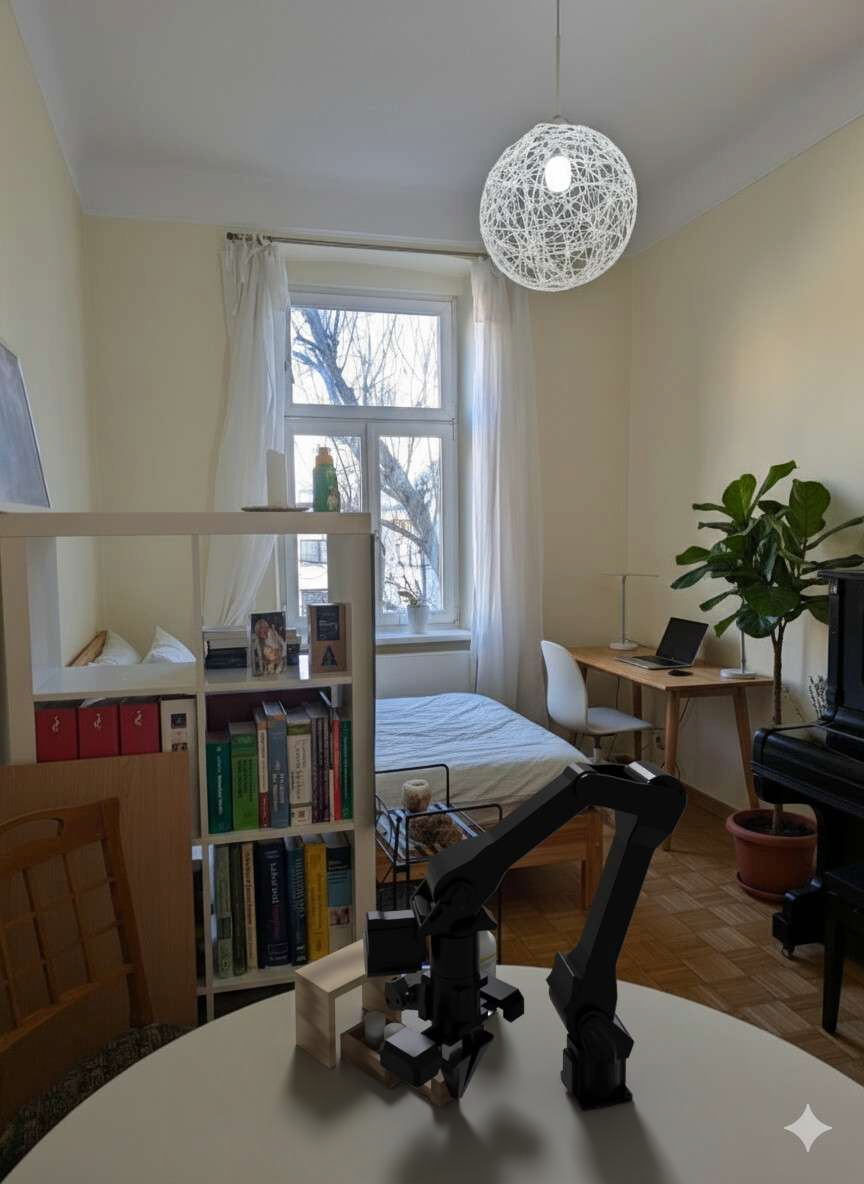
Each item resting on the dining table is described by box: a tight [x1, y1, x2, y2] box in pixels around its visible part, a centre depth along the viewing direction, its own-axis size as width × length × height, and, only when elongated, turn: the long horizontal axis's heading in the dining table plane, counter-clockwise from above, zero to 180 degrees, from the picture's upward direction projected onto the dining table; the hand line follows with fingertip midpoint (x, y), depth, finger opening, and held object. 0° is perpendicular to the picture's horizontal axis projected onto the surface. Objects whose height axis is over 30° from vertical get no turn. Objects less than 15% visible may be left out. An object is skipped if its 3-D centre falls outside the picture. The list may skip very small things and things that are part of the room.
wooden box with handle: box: [339, 1010, 454, 1109], centre depth 98 cm, size 16×7×5 cm, turn 46°
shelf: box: [294, 938, 403, 1069], centre depth 105 cm, size 7×12×10 cm, turn 135°
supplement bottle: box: [480, 930, 497, 978], centre depth 110 cm, size 7×7×13 cm
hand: (456, 1097), depth 92 cm, fingers closed, pressing on wooden box with handle
